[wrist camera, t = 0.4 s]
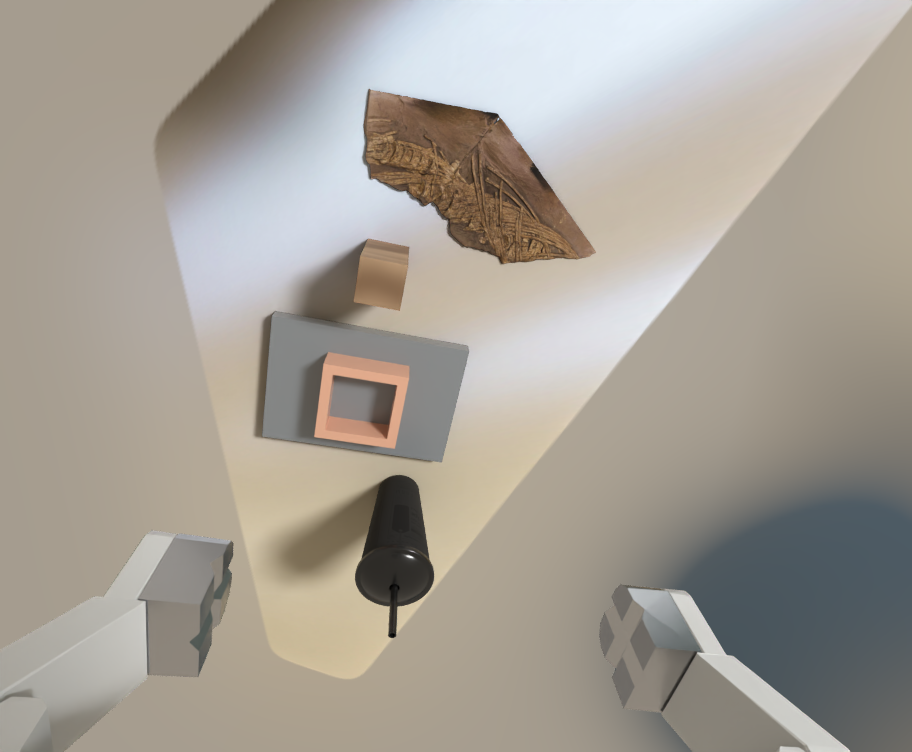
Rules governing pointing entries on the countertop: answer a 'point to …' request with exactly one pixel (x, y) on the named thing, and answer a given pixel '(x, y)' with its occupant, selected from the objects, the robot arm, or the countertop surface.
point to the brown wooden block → (381, 274)
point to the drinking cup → (395, 550)
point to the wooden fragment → (470, 177)
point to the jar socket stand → (360, 387)
